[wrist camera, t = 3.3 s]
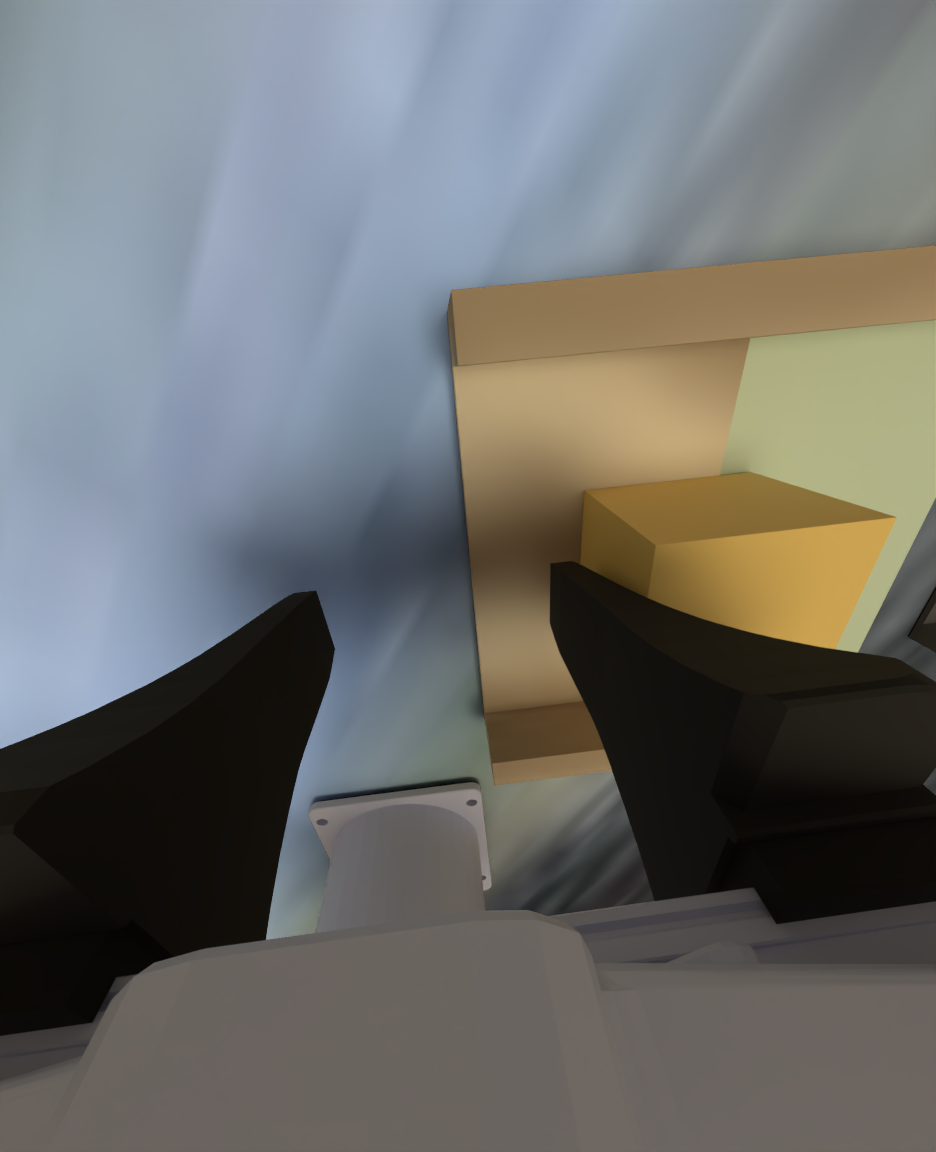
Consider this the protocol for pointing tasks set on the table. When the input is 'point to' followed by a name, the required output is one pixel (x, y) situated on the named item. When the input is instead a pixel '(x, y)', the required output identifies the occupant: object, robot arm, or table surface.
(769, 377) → the pad
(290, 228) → the table surface
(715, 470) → the channel
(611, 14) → the table surface
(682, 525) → the block
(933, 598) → the pit tray
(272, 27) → the table surface
